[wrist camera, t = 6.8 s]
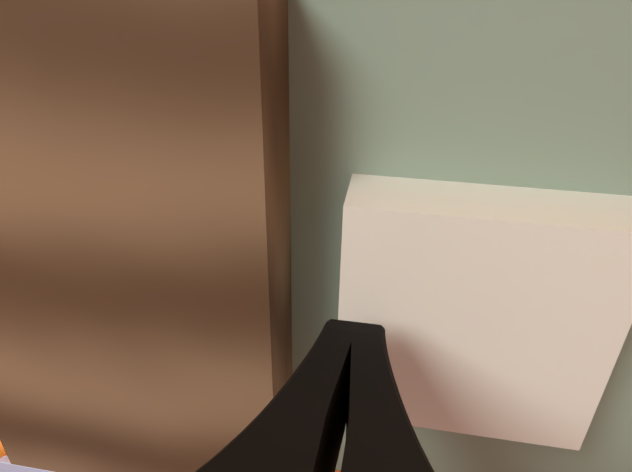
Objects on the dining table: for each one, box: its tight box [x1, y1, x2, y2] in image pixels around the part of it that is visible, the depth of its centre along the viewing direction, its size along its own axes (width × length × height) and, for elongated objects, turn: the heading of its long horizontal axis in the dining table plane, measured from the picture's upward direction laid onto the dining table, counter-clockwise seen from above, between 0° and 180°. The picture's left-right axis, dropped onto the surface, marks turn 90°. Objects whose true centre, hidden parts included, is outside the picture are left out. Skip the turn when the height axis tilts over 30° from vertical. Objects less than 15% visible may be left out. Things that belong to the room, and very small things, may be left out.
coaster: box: [338, 174, 632, 451], centre depth 14 cm, size 7×7×2 cm
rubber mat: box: [288, 0, 632, 472], centre depth 15 cm, size 18×12×1 cm, turn 179°
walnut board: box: [0, 0, 292, 472], centre depth 15 cm, size 16×10×3 cm, turn 179°
